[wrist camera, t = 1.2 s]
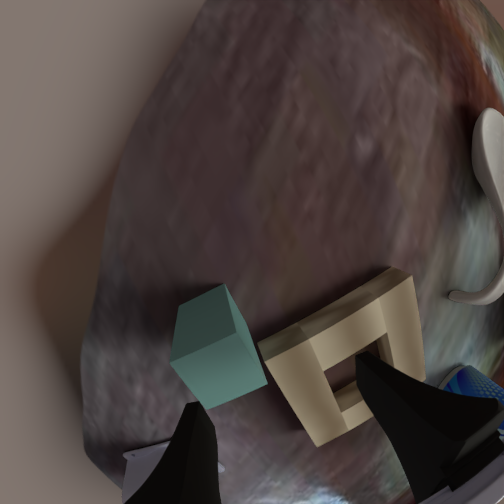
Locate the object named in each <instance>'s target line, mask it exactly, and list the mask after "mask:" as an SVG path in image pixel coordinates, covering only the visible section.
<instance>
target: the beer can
mask: <svg viewBox="0 0 504 504" xmlns="http://www.w3.org/2000/svg"><path fill="white" fill-rule="evenodd" d="M438 389H442V390H445V391H449V392H453V393H457V394H461V395H467V396H474V397H487V398H496V399H498V400H499V401H500V402H501V403H502V404H503V405H504V389H502V388H501V387H500V386H498V385H497V384H496V383H494V382H493V381H492V380H490V379H489V378H488V377H486V376H485V375H483V374H482V373H481V372H479V371H478V370H477V369H475V368H474V367H472V366H470V365H468V366H459V367H457V368H455V369H454V370H452V371H451V372H450V373H449V374H448V375H447V376H446V377H445V379H444V380H443V381H442V383H441V384H440V386H439V387H438ZM497 430H498V431H499V432H500V433H501V435H500V437H499V438H500V439H501V440H503V439H504V420H503V422H502V423H501V425H500V426H499V428H498V429H497Z"/></svg>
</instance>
